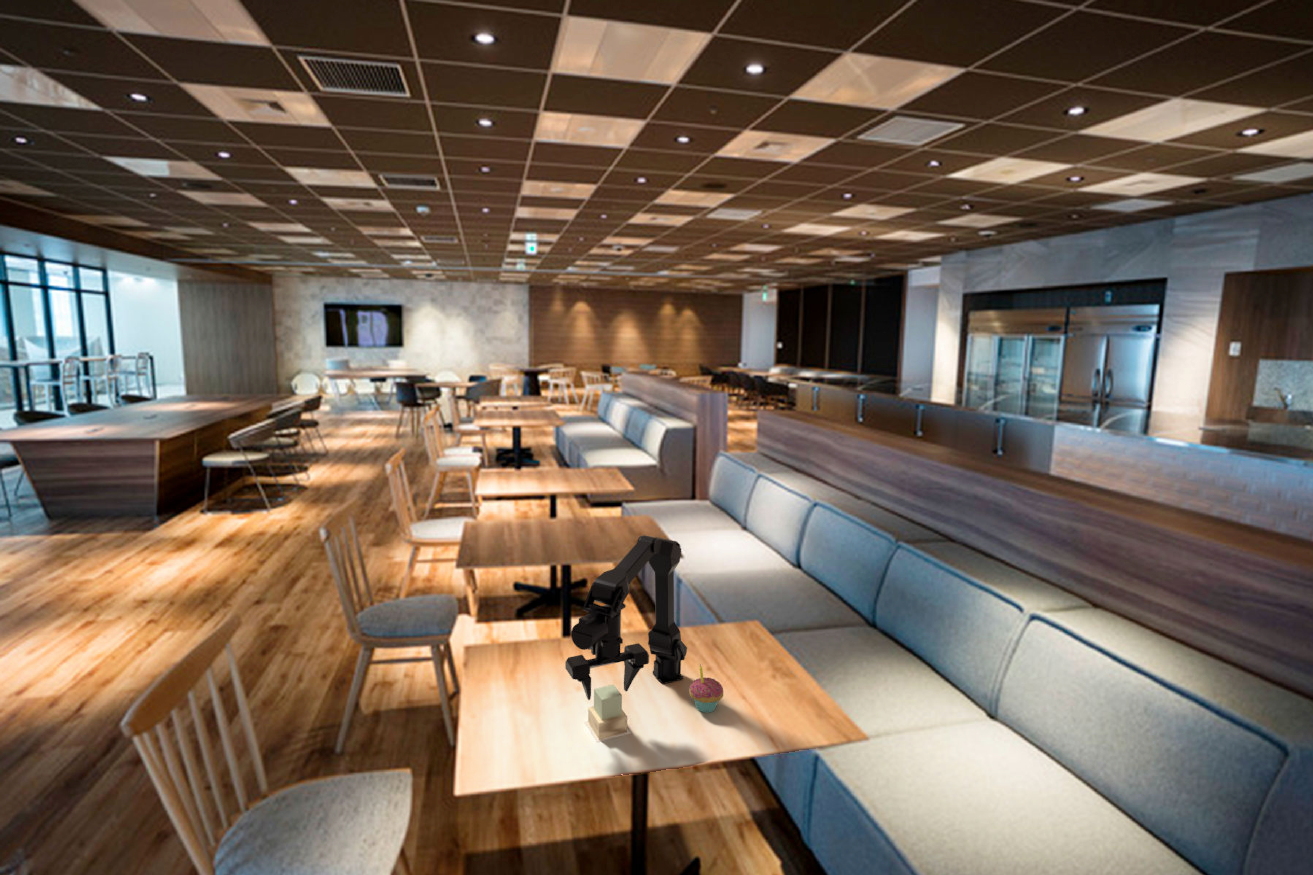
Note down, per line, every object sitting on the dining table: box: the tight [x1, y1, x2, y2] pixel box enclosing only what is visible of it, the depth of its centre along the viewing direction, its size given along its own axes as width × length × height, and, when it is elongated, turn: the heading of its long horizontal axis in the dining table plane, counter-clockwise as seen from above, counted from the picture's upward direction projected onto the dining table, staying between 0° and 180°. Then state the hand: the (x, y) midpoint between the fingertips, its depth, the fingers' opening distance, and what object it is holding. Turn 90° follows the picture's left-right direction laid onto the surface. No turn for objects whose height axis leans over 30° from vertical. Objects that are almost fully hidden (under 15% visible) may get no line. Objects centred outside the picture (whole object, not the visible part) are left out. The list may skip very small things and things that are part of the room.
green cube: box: [593, 684, 623, 720], centre depth 155 cm, size 5×5×5 cm
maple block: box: [587, 705, 628, 739], centre depth 155 cm, size 7×7×4 cm
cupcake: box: [688, 663, 724, 713], centre depth 165 cm, size 9×8×12 cm
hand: (607, 694), depth 154 cm, fingers open, 9 cm apart
